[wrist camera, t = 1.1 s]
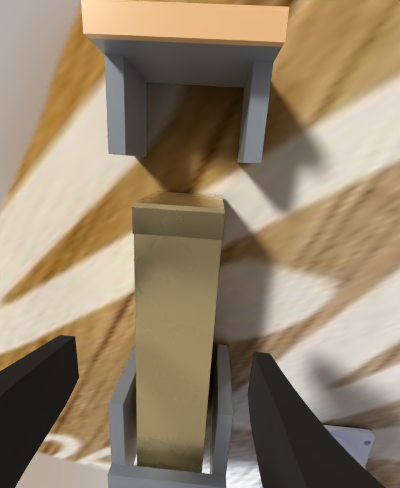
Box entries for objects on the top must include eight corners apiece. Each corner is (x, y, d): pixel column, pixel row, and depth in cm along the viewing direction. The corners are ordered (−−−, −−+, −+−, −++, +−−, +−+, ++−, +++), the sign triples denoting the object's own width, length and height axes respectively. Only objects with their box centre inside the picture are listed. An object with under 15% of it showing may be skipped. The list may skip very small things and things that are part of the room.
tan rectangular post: (204, 408, 21) (201, 480, 16) (154, 403, 22) (136, 473, 17) (222, 195, 16) (225, 208, 12) (156, 191, 17) (132, 202, 12)
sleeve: (220, 416, 22) (222, 515, 16) (138, 408, 22) (109, 502, 16) (228, 345, 20) (233, 426, 14) (138, 337, 20) (104, 413, 14)
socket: (250, 163, 16) (269, 163, 10) (133, 156, 16) (90, 151, 11) (260, 67, 15) (289, 7, 9) (132, 61, 15) (81, -2, 9)
